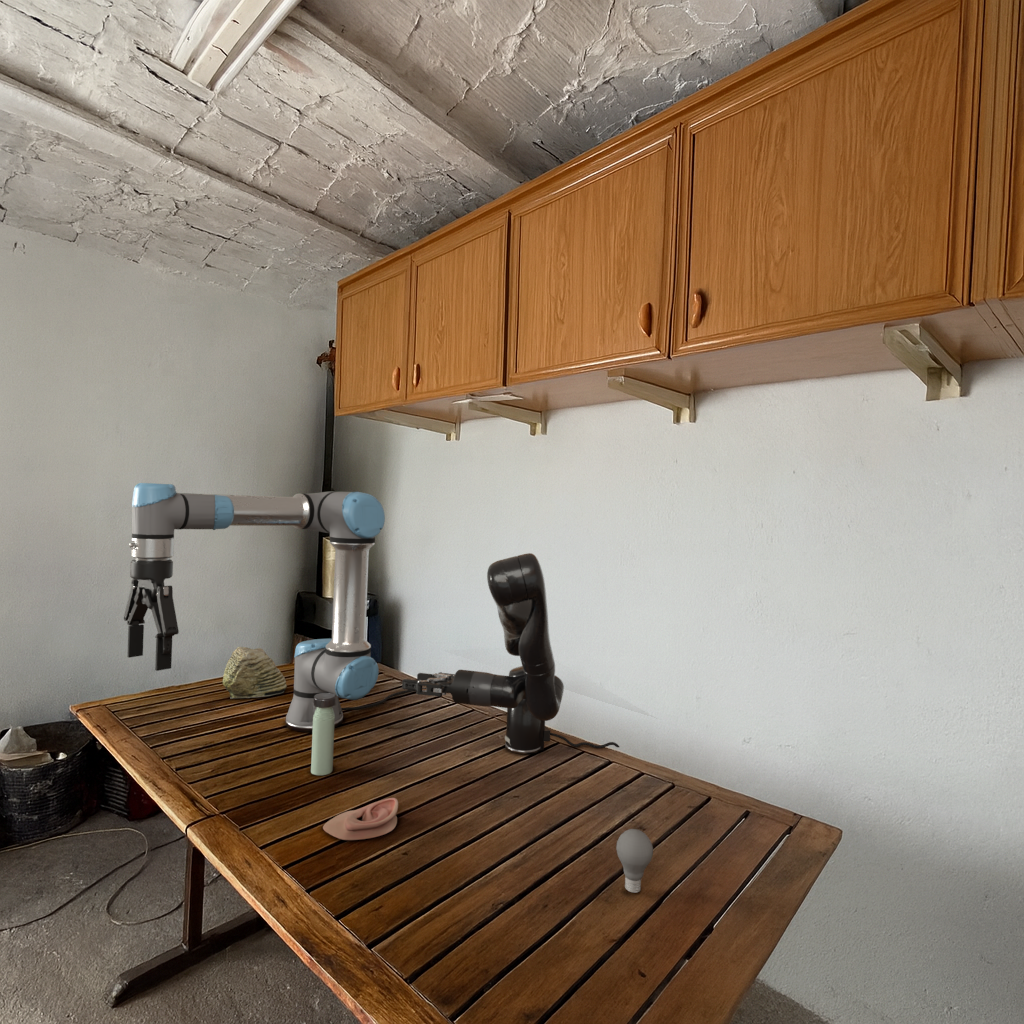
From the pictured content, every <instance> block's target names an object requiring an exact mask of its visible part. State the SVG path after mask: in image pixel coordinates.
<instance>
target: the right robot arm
mask: <svg viewBox="0 0 1024 1024" xmlns="http://www.w3.org/2000/svg"><path fill="white" fill-rule="evenodd" d="M486 579H487V580H486V581H487V586H488V589H489V592H490V594H491V597H492V599H493V601H494V604H495V605H496V609H497V614H498V618H499V623H500V625H501V627H502V630H503V639H504V640H503V641H504V646H505V650H506V652H507V653H508V654H509V655H511V656H514V657H519V658H520V663H521V665H520V666H516V667H513V668H512V669H510V670H509V672H508V675H502V674H495V673H491V672H487V671H478V670H477V671H476V670H469V669H458V670H457V671H455V673H448V672H442V671H440V672H438V673H437V672H435V673H426V672H419V673H417V677H416V679H411V678H404V679H403V680H402V681H401V688H402V689H403V690H414V691H415V694H416V695H418V696H419V695H421V696H431V697H438V698H441V697H443V696H446V695H447V694H450V695H451V699H452V701H453V703H455V704H461V705H468V706H478V707H495V708H502V709H506V725H505V726H506V727H505V729H506V730H505V735H504V740H505V744H504V747H505V749H506V750H507V751H508V752H510V753H512V754H516V755H525V756H526V755H534V754H537V753H539V752H540V751H541V752H542V751H545V742H551V737H555V738H558V739H561V740H563V741H564V742H566V744H568V745H569V746H571V747H574V748H579V747H581V746H588V747H590V748H593V749H603V748H607V747H609V746H614V747H615V748H620V745H619V744H618V743H616V742H614V741H609V742H607V743H603V744H593V743H591V742H586V741H581V742H578V743H573V742H571V741H570V740H569V739H568V738H567V737H565V736H563V735H560V734H558V733H554V732H551V730H550V729H549V728H548V727H547V726H546V722H548V721H551V720H554V718H556V716H557V715H558V713H559V711H560V707H561V703H562V700H563V697H564V692H565V685H564V682H563V681H562V679H561V678H560V677H559V676H557V675H556V663H555V658H554V653H553V649H552V644H551V638H550V628H549V611H548V599H547V590H546V583H545V577H544V573H543V569H542V565H541V563H540V561H539V559H538V557H537V556H536V555H535V554H534V553H530V552H529V553H523V554H518V555H515V556H511V557H507V558H502V559H498V560H496V561H494V562H492V563H490V565H489V566H488V568H487V573H486ZM424 687H425V688H426V689H422V688H424Z"/></svg>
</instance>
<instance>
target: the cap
mask: <svg viewBox="0 0 1024 1024" xmlns="http://www.w3.org/2000/svg"><path fill="white" fill-rule="evenodd" d="M334 705H335V694H332V693H319V694H316V695H315V696H314V706H315V707H318V708H328V707H332V706H334Z"/></svg>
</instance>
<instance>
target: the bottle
mask: <svg viewBox="0 0 1024 1024" xmlns="http://www.w3.org/2000/svg"><path fill="white" fill-rule="evenodd" d="M334 722H335V716H334V712H333V708H332V707H328V708H318V707H317V708H316V711H315V713H314V715H313V732H311V734H312V735H311V761H310V762H311V763H310V764H311V765H310V773H311V774H312V775H314V776H326V775H327V776H328V775H329V774H331V773H332V772H333V770H334V747H335V746H334V745H335V744H334V743H335V728H334Z"/></svg>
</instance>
